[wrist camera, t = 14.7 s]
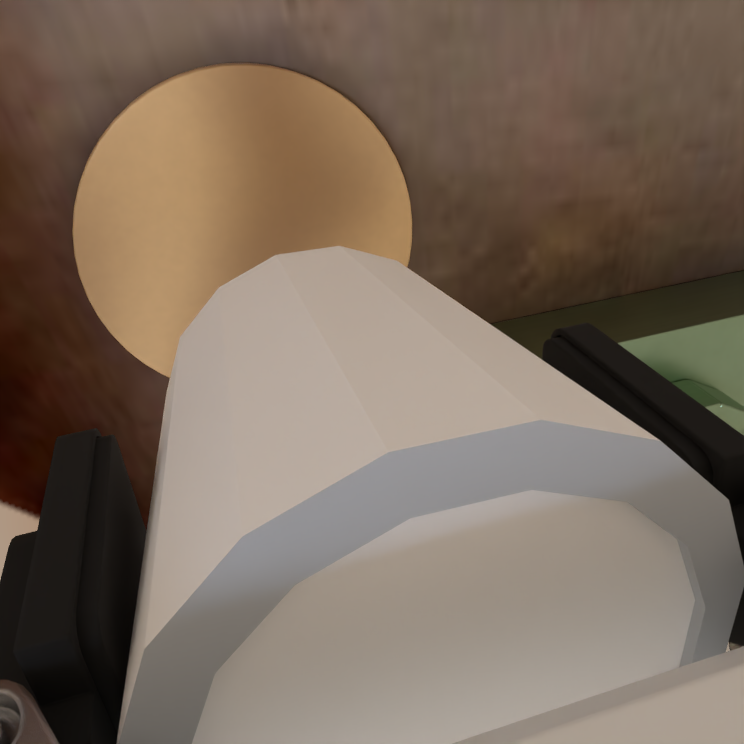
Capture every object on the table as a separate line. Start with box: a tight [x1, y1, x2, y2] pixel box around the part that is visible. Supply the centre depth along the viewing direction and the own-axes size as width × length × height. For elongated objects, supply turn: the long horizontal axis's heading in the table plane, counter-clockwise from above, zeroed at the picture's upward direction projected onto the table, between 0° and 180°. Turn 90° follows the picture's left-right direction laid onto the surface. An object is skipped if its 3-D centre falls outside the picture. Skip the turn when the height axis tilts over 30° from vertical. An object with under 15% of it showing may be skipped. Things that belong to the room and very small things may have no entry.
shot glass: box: [116, 246, 744, 744], centre depth 10 cm, size 7×7×7 cm
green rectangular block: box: [490, 271, 744, 435], centre depth 27 cm, size 14×11×5 cm
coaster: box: [72, 63, 412, 378], centre depth 21 cm, size 10×10×1 cm
